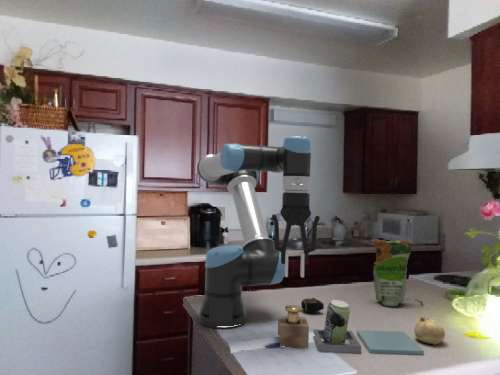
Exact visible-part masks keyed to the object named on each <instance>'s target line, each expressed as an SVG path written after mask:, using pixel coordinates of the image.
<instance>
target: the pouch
mask: <svg viewBox="0 0 500 375" xmlns="http://www.w3.org/2000/svg"><path fill="white" fill-rule="evenodd" d="M372 242H373V244H374V247H375V250H376V252H375V257H376V260H375V261H374V263H373V271H372V274H373V284H374V291H375V299H376V300H377V301H379V302H382V306H385V307H398V305H399V304H400V303H403V302H404V301H405V297H406V296H405V295H406V291H407V286H406V284H407V281H406V280H407V272H408V267H407V266H408V260H409V258H410V255H411V253H412V247H411V246H412V245H411V244H412V242H410V241H409V240H393V239H392V238H390V239H389V241H388V240H381V239H379V238H374V239H373V238H372Z"/></svg>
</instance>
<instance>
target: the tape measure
mask: <svg viewBox="0 0 500 375" xmlns="http://www.w3.org/2000/svg"><path fill="white" fill-rule="evenodd" d="M300 305H301V306H300V307H301V310H303V311H304V312H307V313H316V312H319V311H322V310H324V308H325V306H324V303H323V302H322V301H321V300H319V299H317V298H315V297H311V298H309V297H308V298H304V299H302V300H301V302H300Z"/></svg>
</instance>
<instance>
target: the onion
mask: <svg viewBox="0 0 500 375" xmlns="http://www.w3.org/2000/svg"><path fill="white" fill-rule="evenodd" d="M413 331H414V332H413V333H414V335H415V337H416V339H418V340H419V341H420V342H422V343H426V344H430V345H433V346H437V345H438V344H440V343H441V342H443V341H444V339H445V337H446V332H445V328H444V327H443V325H442V324H440V323H439V322H438V321H437V320H434V319H432V318H430V317H429V316H421V317H420V318H419V320H418V321H417V322H416V323H415V326H414V330H413Z"/></svg>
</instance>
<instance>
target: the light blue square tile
mask: <svg viewBox="0 0 500 375" xmlns="http://www.w3.org/2000/svg"><path fill="white" fill-rule="evenodd" d="M356 335H357V336H358V337H359V339H360V340H361V342H362V344H363V346H365V348H366V350H367V351H368V353H369V354H383V355H384V354H386V355H387V354H389V355H410V356H411V355H412V356H414V355H416V356H417V355H419V356H424V353H425V351H424V350H423V349H422V348H421V347H420V346H419V345H418V344H417V343H416V342H415V340H413V339H412V338H411V337H410V336H409V335H408V334H407V333H406V332H405V331H399V330H398V331H395V330H394V331H393V330H368V329H367V330H363V329H357V330H356Z"/></svg>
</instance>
